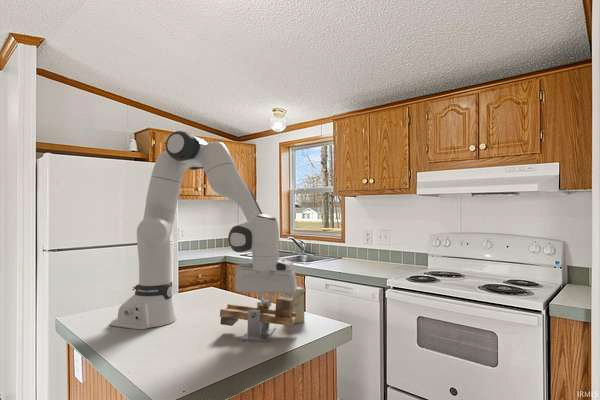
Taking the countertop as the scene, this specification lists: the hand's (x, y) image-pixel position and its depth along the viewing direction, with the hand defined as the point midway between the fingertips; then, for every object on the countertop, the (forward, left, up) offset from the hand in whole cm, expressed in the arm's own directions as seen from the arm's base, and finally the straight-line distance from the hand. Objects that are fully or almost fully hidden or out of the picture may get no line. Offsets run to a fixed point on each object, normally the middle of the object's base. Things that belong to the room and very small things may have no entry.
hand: (266, 306), depth 121 cm
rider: (+6, 0, -4) cm, 7 cm away
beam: (-3, 0, -7) cm, 7 cm away
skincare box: (+7, +15, -10) cm, 19 cm away
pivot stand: (-2, 0, -9) cm, 10 cm away
